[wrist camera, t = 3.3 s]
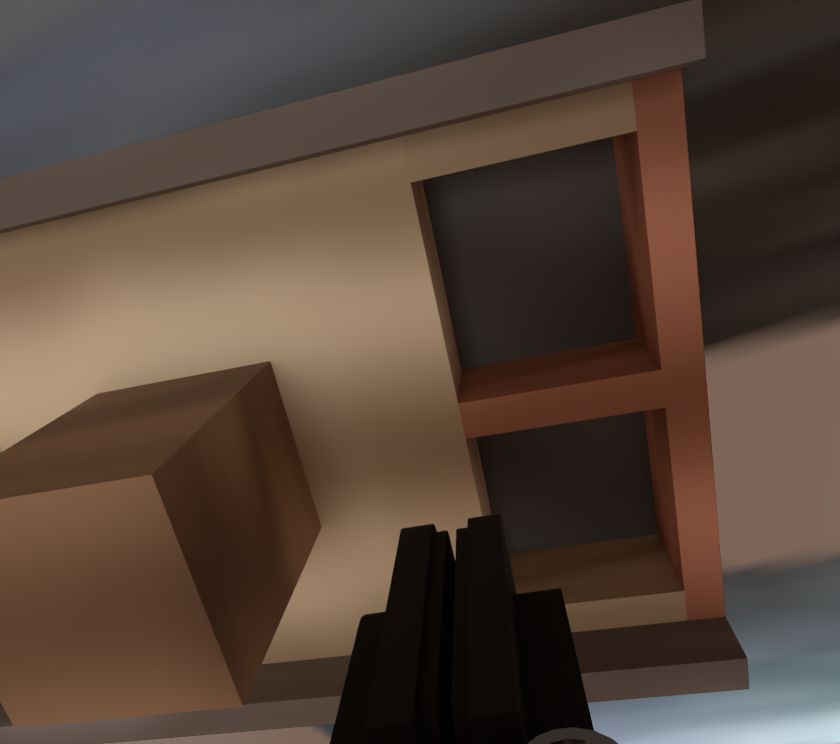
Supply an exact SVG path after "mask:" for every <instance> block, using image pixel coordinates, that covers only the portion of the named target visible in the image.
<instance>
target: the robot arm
mask: <svg viewBox="0 0 840 744" xmlns="http://www.w3.org/2000/svg"><path fill="white" fill-rule="evenodd" d="M330 744H618V743H617V742H615V741H614V740H613V739H611V738H609V737H607V736H605V735H602V734H600V733H598V732H596V731H594V729H593V725H592V720H591V716H590V712H589V707H588V703H587V699H586V694H585V690H584V686H583V681H582V677H581V672H580V668H579V664H578V659H577V655H576V651H575V646H574V642H573V637H572V633H571V629H570V624H569V620H568V616H567V611H566V607H565V603H564V598H563V594H562V590H561V588H557V589H550V590H543V591H535V592H528V593H520V594H517V593H516V588H515V583H514V578H513V573H512V569H511V564H510V559H509V554H508V549H507V544H506V539H505V534H504V529H503V524H502V519H501V515H500V514H493V515H487V516H480V517H474V518H468V521H467V527H466V528H460V529H457V530H456V557H455V558H454V554H453V549H452V545H451V541H450V537H449V533H448V531H447V530H446V531H440V532H437V530H436V527H435V525H434V524H428V525H421V526H415V527H408V528H402V529H401V532H400V536H399V542H398V547H397V552H396V558H395V563H394V568H393V574H392V579H391V584H390V590H389V595H388V600H387V606H386V611H385V612H379V613H372V614H365V615H363V616H362V617H361V620H360V622H359V626H358V630H357V634H356V638H355V642H354V646H353V650H352V654H351V659H350V663H349V667H348V671H347V675H346V679H345V683H344V688H343V692H342V696H341V700H340V704H339V708H338V712H337V717H336V721H335V725H334V729H333V733H332V737H331V741H330Z"/></svg>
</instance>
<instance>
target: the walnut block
mask: <svg viewBox="0 0 840 744" xmlns="http://www.w3.org/2000/svg"><path fill="white" fill-rule="evenodd" d="M321 528H322V527H321V524H320V521H319V517H318V514H317V511H316V508H315V504H314V501H313V498H312V495H311V491H310V488H309V485H308V482H307V478H306V475H305V472H304V469H303V466H302V462H301V459H300V456H299V453H298V449H297V446H296V443H295V440H294V436H293V433H292V430H291V427H290V423H289V420H288V417H287V414H286V410H285V407H284V404H283V401H282V397H281V394H280V391H279V388H278V384H277V381H276V378H275V375H274V371H273V368H272V365H271V362H270V361H268V362H263V363H258V364H252V365H247V366H242V367H236V368H231V369H226V370H220V371H215V372H210V373H204V374H199V375H194V376H188V377H183V378H178V379H172V380H167V381H162V382H156V383H151V384H146V385H140V386H135V387H130V388H124V389H119V390H114V391H108V392H103V393H98V394H96V395H94V396H92V397H91V398H89V399H88V400H86V401H84V402H83V403H81V404H79V405H78V406H76V407H74V408H73V409H71V410H70V411H68V412H66V413H65V414H63V415H61V416H60V417H58V418H56V419H55V420H53V421H52V422H50V423H48V424H47V425H45V426H43V427H42V428H40V429H39V430H37V431H35V432H34V433H32V434H30V435H29V436H27V437H25V438H24V439H22V440H21V441H19V442H17V443H16V444H14V445H12V446H11V447H9V448H7V449H6V450H4V451H3V452H1V453H0V702H1V704H2V706H3V708H4V710H5V711H6V713H7V715H8V717H9V719H10V721H11V722H12V724H13V726H14V728H15V727H26V726H37V725H48V724H59V723H70V722H81V721H92V720H103V719H114V718H125V717H135V716H146V715H157V714H168V713H179V712H190V711H201V710H212V709H223V708H234V707H243V706H244V703H245V701H246V699H247V697H248V694H249V692H250V690H251V687H252V685H253V683H254V681H255V678H256V676H257V674H258V671H259V669H260V667H261V665H262V662H263V660H264V658H265V656H266V653H267V651H268V649H269V646H270V644H271V642H272V640H273V637H274V635H275V633H276V630H277V628H278V626H279V624H280V621H281V619H282V617H283V614H284V612H285V610H286V608H287V605H288V603H289V601H290V598H291V596H292V594H293V592H294V589H295V587H296V585H297V582H298V580H299V578H300V576H301V573H302V571H303V569H304V566H305V564H306V562H307V560H308V557H309V555H310V553H311V551H312V548H313V546H314V544H315V541H316V539H317V537H318V535H319V532H320V530H321Z"/></svg>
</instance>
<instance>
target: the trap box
mask: <svg viewBox="0 0 840 744" xmlns="http://www.w3.org/2000/svg"><path fill="white" fill-rule="evenodd" d="M705 58H706V52H705V37H704V23H703V8H702V0H690V1H686V2H682V3H678V4H674V5H671V6H667V7H663V8H659V9H655V10H651V11H647V12H644V13H640V14H636V15H632V16H628V17H624V18H620V19H616V20H613V21H609V22H605V23H601V24H597V25H593V26H589V27H585V28H582V29H578V30H574V31H570V32H566V33H562V34H558V35H554V36H551V37H547V38H543V39H539V40H535V41H531V42H527V43H523V44H520V45H516V46H512V47H508V48H504V49H500V50H496V51H493V52H489V53H485V54H481V55H477V56H473V57H469V58H465V59H462V60H458V61H454V62H450V63H446V64H442V65H438V66H434V67H431V68H427V69H423V70H419V71H415V72H411V73H407V74H403V75H400V76H396V77H392V78H388V79H384V80H380V81H376V82H373V83H369V84H365V85H361V86H357V87H353V88H349V89H345V90H342V91H338V92H334V93H330V94H326V95H322V96H318V97H314V98H311V99H307V100H303V101H299V102H295V103H291V104H287V105H283V106H280V107H276V108H272V109H268V110H264V111H260V112H256V113H252V114H249V115H245V116H241V117H237V118H233V119H229V120H225V121H222V122H218V123H214V124H210V125H206V126H202V127H198V128H194V129H191V130H187V131H183V132H179V133H175V134H171V135H167V136H163V137H160V138H156V139H152V140H148V141H144V142H140V143H136V144H132V145H129V146H125V147H121V148H117V149H113V150H109V151H105V152H102V153H98V154H94V155H90V156H86V157H82V158H78V159H74V160H71V161H67V162H63V163H59V164H55V165H51V166H47V167H43V168H40V169H36V170H32V171H28V172H24V173H20V174H16V175H12V176H9V177H5V178H1V179H0V453H1V452H3V451H4V450H6V449H7V448H9V447H11V446H12V445H14V444H16V443H17V442H19V441H21V440H22V439H24V438H25V437H27V436H29V435H30V434H32V433H34V432H35V431H37V430H39V429H40V428H42V427H43V426H45V425H47V424H48V423H50V422H52V421H53V420H55V419H56V418H58V417H60V416H61V415H63V414H65V413H66V412H68V411H70V410H71V409H73V408H74V407H76V406H78V405H79V404H81V403H83V402H84V401H86V400H88V399H89V398H91V397H92V396H94V395H96V394H98V393H103V392H108V391H114V390H119V389H124V388H130V387H135V386H140V385H146V384H151V383H156V382H162V381H167V380H172V379H178V378H183V377H188V376H194V375H199V374H204V373H210V372H215V371H220V370H226V369H231V368H236V367H242V366H247V365H252V364H258V363H263V362H268V361H270V362H271V365H272V368H273V371H274V375H275V378H276V381H277V384H278V388H279V391H280V394H281V397H282V401H283V404H284V407H285V410H286V414H287V417H288V420H289V423H290V427H291V430H292V433H293V436H294V440H295V443H296V446H297V449H298V453H299V456H300V459H301V462H302V466H303V469H304V472H305V475H306V478H307V482H308V485H309V488H310V491H311V495H312V498H313V501H314V504H315V508H316V511H317V514H318V517H319V521H320V524H321V527H322V528H321V530H320V532H319V535H318V537H317V539H316V541H315V544H314V546H313V548H312V551H311V553H310V555H309V557H308V560H307V562H306V564H305V566H304V569H303V571H302V573H301V576H300V578H299V580H298V582H297V585H296V587H295V589H294V592H293V594H292V596H291V598H290V601H289V603H288V605H287V608H286V610H285V612H284V614H283V617H282V619H281V621H280V624H279V626H278V628H277V630H276V633H275V635H274V637H273V640H272V642H271V644H270V646H269V649H268V651H267V653H266V656H265V658H264V660H263V662H262V665H261V667H260V669H259V671H258V674H257V676H256V678H255V681H254V683H253V685H252V687H251V690H250V692H249V694H248V697H247V699H246V701H245V703H244V706H243V707H234V708H223V709H212V710H201V711H190V712H179V713H168V714H157V715H146V716H135V717H125V718H114V719H103V720H92V721H81V722H70V723H59V724H48V725H37V726H26V727H15V728H14V726H13V724H12V722H11V721H10V719H9V717H8V715H7V713H6V711H5V710H4V708H3V706H2V704H1V702H0V744H101V743H114V742H126V741H137V740H149V739H161V738H174V737H186V736H196V735H208V734H221V733H233V732H244V731H256V730H268V729H280V728H292V727H304V726H316V725H328V724H335V721H336V717H337V712H338V708H339V704H340V700H341V696H342V692H343V688H344V683H345V679H346V675H347V671H348V667H349V663H350V659H351V654H352V650H353V646H354V642H355V638H356V634H357V630H358V626H359V622H360V620H361V617H362V616H363V615H365V614H372V613H379V612H385V611H386V606H387V600H388V595H389V590H390V584H391V579H392V574H393V568H394V563H395V558H396V552H397V547H398V542H399V536H400V532H401V529H402V528H408V527H415V526H421V525H428V524H434V525H435V527H436V530H437V532H440V531H446V530H447V531H448V533H449V537H450V541H451V545H452V549H453V554H454V558H455V557H456V530H457V529H460V528H466V527H467V521H468V518H474V517H480V516H487V515H493V514H500V515H501V519H502V524H503V529H504V534H505V539H506V544H507V549H508V554H509V559H510V564H511V569H512V573H513V578H514V583H515V588H516V593H517V594H520V593H528V592H535V591H543V590H550V589H557V588H561V590H562V594H563V598H564V603H565V607H566V611H567V616H568V620H569V624H570V629H571V633H572V637H573V642H574V646H575V651H576V655H577V659H578V664H579V668H580V672H581V677H582V681H583V686H584V690H585V694H586V699H587V703H589V702H600V701H612V700H624V699H636V698H648V697H660V696H672V695H683V694H695V693H707V692H719V691H731V690H743V689H749V678H748V664H747V657H746V655H745V653H744V651H743V649H742V648H741V646H740V644H739V642H738V640H737V638H736V636H735V634H734V632H733V630H732V629H731V627H730V625H729V623H728V621H727V619H726V617H725V607H724V594H723V582H722V570H721V557H720V545H719V532H718V521H717V507H716V495H715V482H714V471H713V458H712V446H711V432H710V421H709V408H708V395H707V383H706V370H705V358H704V345H703V333H702V320H701V308H700V295H699V283H698V270H697V258H696V245H695V233H694V220H693V208H692V195H691V183H690V171H689V158H688V146H687V133H686V121H685V108H684V96H683V83H682V71H681V69H682V68H685V67H687V66H689V65H691V64H693V63H696V62H698V61H700V60H702V59H705Z"/></svg>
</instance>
